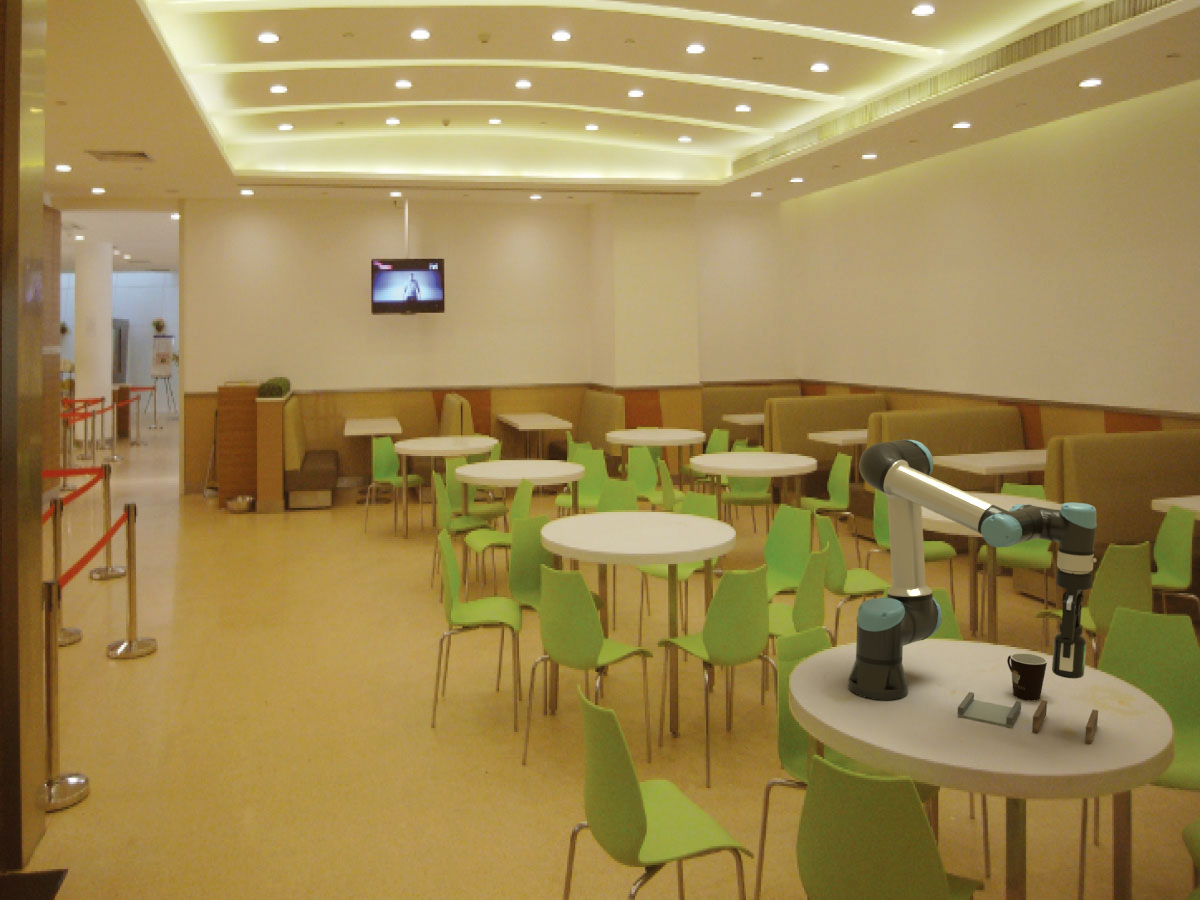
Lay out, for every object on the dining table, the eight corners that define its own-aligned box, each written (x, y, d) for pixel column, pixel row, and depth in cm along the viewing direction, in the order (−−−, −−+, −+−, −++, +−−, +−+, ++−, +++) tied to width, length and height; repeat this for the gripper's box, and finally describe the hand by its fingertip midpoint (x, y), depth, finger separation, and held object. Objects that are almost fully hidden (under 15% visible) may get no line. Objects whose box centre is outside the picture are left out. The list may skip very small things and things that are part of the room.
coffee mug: (1048, 703, 248) (1050, 665, 247) (1012, 701, 250) (1014, 663, 248) (1037, 687, 259) (1039, 650, 258) (1003, 684, 261) (1005, 648, 260)
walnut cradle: (1032, 732, 231) (1033, 715, 230) (1040, 715, 240) (1041, 699, 240) (1090, 744, 224) (1091, 727, 223) (1097, 726, 234) (1098, 710, 233)
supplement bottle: (1090, 676, 229) (1094, 627, 227) (1067, 680, 226) (1071, 630, 225) (1067, 667, 235) (1071, 618, 233) (1045, 670, 233) (1048, 621, 231)
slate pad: (957, 716, 240) (957, 707, 239) (968, 700, 250) (969, 691, 249) (1011, 727, 233) (1011, 718, 233) (1020, 711, 243) (1021, 702, 243)
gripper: (1087, 581, 217) (1080, 681, 220) (1098, 563, 233) (1091, 656, 236) (1050, 576, 221) (1043, 674, 224) (1063, 559, 238) (1057, 650, 241)
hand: (1068, 665), depth 230 cm, fingers closed on supplement bottle, 7 cm apart
